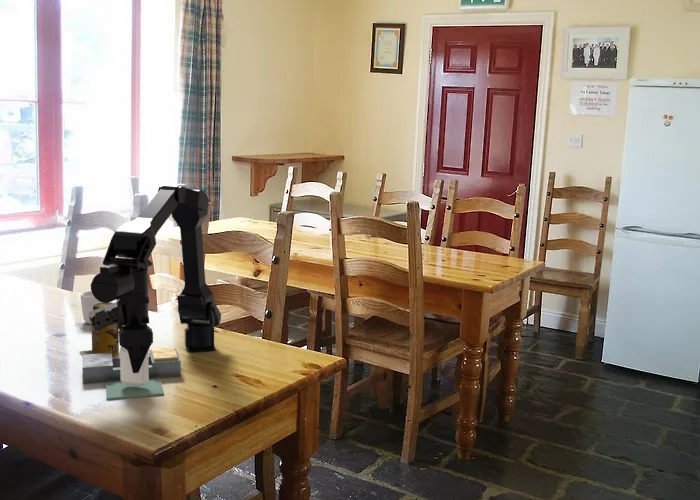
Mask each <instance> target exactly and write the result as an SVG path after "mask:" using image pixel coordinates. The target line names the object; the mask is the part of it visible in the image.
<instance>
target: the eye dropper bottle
mask: <svg viewBox="0 0 700 500" xmlns="http://www.w3.org/2000/svg"><path fill="white" fill-rule="evenodd" d="M119 351H120V380H121V382H122V383H124V384H127V385H135V386H141V385H145V384H146V383H148V381H149V361H148V355H149V351H148V352H147V354H146V357H145V359H144V361H143V363H142V366H141V368H140V370H139V372H138V373H133V371H132V367H131V363H130V358H129V354H128V351H127V350H126V349H125V348H124V347H121V346H120V347H119Z"/></svg>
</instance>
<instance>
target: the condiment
mask: <svg viewBox="0 0 700 500" xmlns="http://www.w3.org/2000/svg"><path fill="white" fill-rule="evenodd" d="M109 304H112V303H98V304H95V305H94V306H93V310H96V309H98V308H101V307H103V306H106V305H109ZM90 325H91V350H80V351H78V352H79V354H80V355H81V356H82V357H83V355H84V354H99V353H112V357H120V344H119V329H118V327H117V322H116V323H115V324H112V325H110V326H107V327H104V328H102V330H99V331H95V330H94V328H93V326H92V324H90Z"/></svg>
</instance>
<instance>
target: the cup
mask: <svg viewBox="0 0 700 500" xmlns="http://www.w3.org/2000/svg"><path fill="white" fill-rule="evenodd" d="M79 295H80V305H81V311H82V318H83V321H84V323H86V324H90V325H91V321H90V319H89V312H91V311H93V306H94V305H95V304H98V303H103V302H100V301H98V300H97V299H96V298H95V297H94V295H93V294H92V291H91V290H88V291H84V292H81V293H80V294H79ZM108 303H114V301H111V302H108Z"/></svg>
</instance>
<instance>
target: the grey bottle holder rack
mask: <svg viewBox="0 0 700 500" xmlns="http://www.w3.org/2000/svg"><path fill="white" fill-rule="evenodd" d="M148 361H149V379H159V378H160V379H163V378H173V377H175V378H176V377H181V374H182V373H181V372H182V370H181V369H182V367H181V366H182V364H181V363H182V362H181V358H180V355H179V352H178V350H177V348H175V347H162V348H161V347H159V348H151V349H149V350H148ZM81 367H82V369H81V370H82V384H83V385H84V384H98V383H107V382H120V381H121V380H120V357H112V353H99V354H84V355H83V356H82V366H81Z"/></svg>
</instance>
